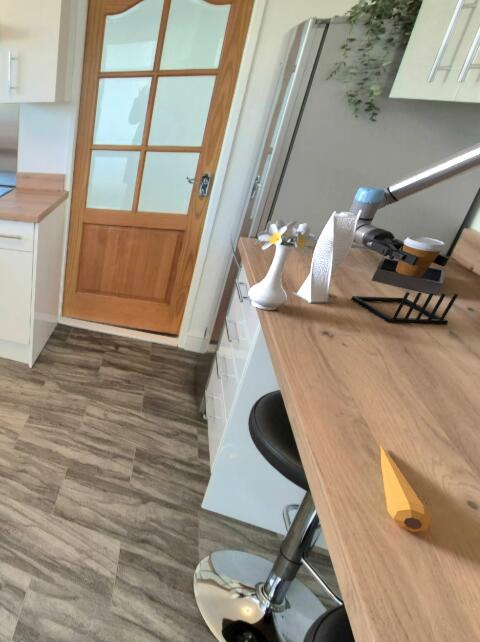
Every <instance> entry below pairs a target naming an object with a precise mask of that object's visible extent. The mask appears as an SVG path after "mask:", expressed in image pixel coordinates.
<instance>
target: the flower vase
mask: <svg viewBox="0 0 480 642" xmlns="http://www.w3.org/2000/svg"><path fill="white" fill-rule="evenodd" d="M285 223H286V222H285V221H284V219H280V218H279V219H277V220H276V221H275V223H271V220H268V222H267V223H266V226H265V229H264V230H261V231H259V232H258V233H257V235H256V237H257V238H258V240H257V241H256V242H254V243H253V246H254V247H255V246H256V245H258V244H260V243H262V242H265V243H264V244H263V245H262V246H261V250H262V251H264V250H267V249H268V248H270V247H271V246H273V245H275V254H274V256H273V259H272V263H271V265H270V267H269V270H268V272H267V274H266V276H265V277H264V278H263V279H262V280H261V281H259V282H258V283H255V284H254V285H253V286H251V287H250V288H249V290H248V293H247V295H248V297H249V299H250V301H251V305H252V306H253V307H255V308H257V309H258V310H259V309H260V310H262V311H263V310H264V311H275V310H276V309H277V307H281V306H283V305H284V304H285V303H286V302H287V298H288V296H287V292H286V291H285V289H284V288H283V284H282V278H283V277H282V276H283V273H284V269H285V267H286V263H287V260H288V259H289V257H290V255H291V254H292V251H293V250H294V249H295V248H296V250H297V252H303V254H304V255H305V256H306V257H310V252H311V251H310V250H313V248H314V247H313V246H316V245H317V240H316V239H317V236H316V234H314V233H311V227H310V226H309V225H308V223H306V222H304V223H300V224H298V228H295V226H296V225H297V223H298V221H297V220H292V221H290V222H288V223H287V224H285ZM282 238H283V239H282Z"/></svg>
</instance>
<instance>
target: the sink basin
mask: <svg viewBox="0 0 480 642" xmlns="http://www.w3.org/2000/svg"><path fill="white" fill-rule="evenodd" d="M398 262H399V260H398V259H389V258H387V257H382V258H381V260H380V262H379V263H378V265H377V268H376V270H375V272H374V274H373V276H372V278H371V282H376V283H379V284H383V285H384V284H385V285H388V286H393V287H396V288H401V289H407V290H410V291H415V292H417V293H419V292H420V293H422V294H428V295H429V294H430V293H434V295H433V296H437V295H438V293H439V291H440V289H441V287H442V286H443V284H444V278H445V269H442V268H436V267H431V266H429V268H428V269H427V270H426V272H425V273H424V274H423V275H422V277H421V278H418V277H413V276H409V275H404V274H399V273H395V271H396V268H397V265H398Z"/></svg>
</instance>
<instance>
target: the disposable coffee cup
mask: <svg viewBox="0 0 480 642" xmlns="http://www.w3.org/2000/svg"><path fill="white" fill-rule="evenodd" d="M403 241H404V246H403V249H402V250H403V251H405V252H407V253H410V254H412V255H414V256H417V257H419V258H418V260H417V262H416V264H415V265H410V264H408V263H406V262H403V261H401V260H399V259H398V261H399V262H398V265H397V268H396V271H395V273H399V274H404V275H409V276H413V277H418V278H421V277H422V275H423V274H424V273H425V272H426V270H427V269H428V268H429V267H431V265H432V264H433V261H434V260H435V259H436V257H437V256H438V254H439V255H440V253H441V252H443V250H445V249H446V247H445V246H446V243H445V242H444V241H442V240H439V239H436V238H431V237H427V236H420V235H409V236H407V238H405V239H404V240H403Z"/></svg>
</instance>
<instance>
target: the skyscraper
mask: <svg viewBox="0 0 480 642" xmlns="http://www.w3.org/2000/svg"><path fill="white" fill-rule="evenodd" d="M361 213H362V210H360V211H359V213H358V215H357V216H353V215H354V214H353V213H350V212H349V211H340V213H339V212H337V211H336V210H335V211H333V213H332V215H331V216H330V218H329V220H328V221H327V223H326V224H325V226H324V228H323V230H322V232H321V234H320V236H319V238H318V239H317V241H316V244H315V247H314V251H313V255H312V259H311V264H310V265H311V266H310V271H309V272H310V273H309V274H308V276H307V278H306V279H305V281H304V282H303V284H302V285H301V287H300V288H299V290H298V291H293V292H292V294H293V295H295V296H296V297H298V298H299V299H302V300H303V301H305V302H307V303H308V304H333V300H332V299H329V293H330V287H331V282H332V276H333V275H334V274H335V273H336V271H337V270H338V269H339V268H340V266H341V265H342V264H343V262H344V261H345V260H346V257H347V256H348V254H349V253H350V251H351V248H352V246H353V243H354V241H353V240H354V237H355V233H356V229H357V224H358V220H359V218H360V215H361Z"/></svg>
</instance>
